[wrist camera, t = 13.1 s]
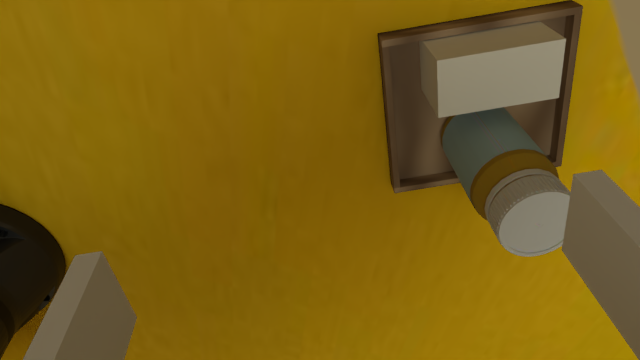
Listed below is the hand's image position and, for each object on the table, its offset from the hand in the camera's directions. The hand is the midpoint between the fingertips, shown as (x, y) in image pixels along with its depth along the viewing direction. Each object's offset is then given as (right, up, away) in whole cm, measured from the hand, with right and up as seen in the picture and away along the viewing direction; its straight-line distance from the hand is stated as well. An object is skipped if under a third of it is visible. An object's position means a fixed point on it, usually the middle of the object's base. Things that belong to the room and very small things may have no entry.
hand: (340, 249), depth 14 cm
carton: (+13, +13, +31) cm, 36 cm away
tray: (+14, +10, +34) cm, 38 cm away
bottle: (+15, +7, +35) cm, 39 cm away
